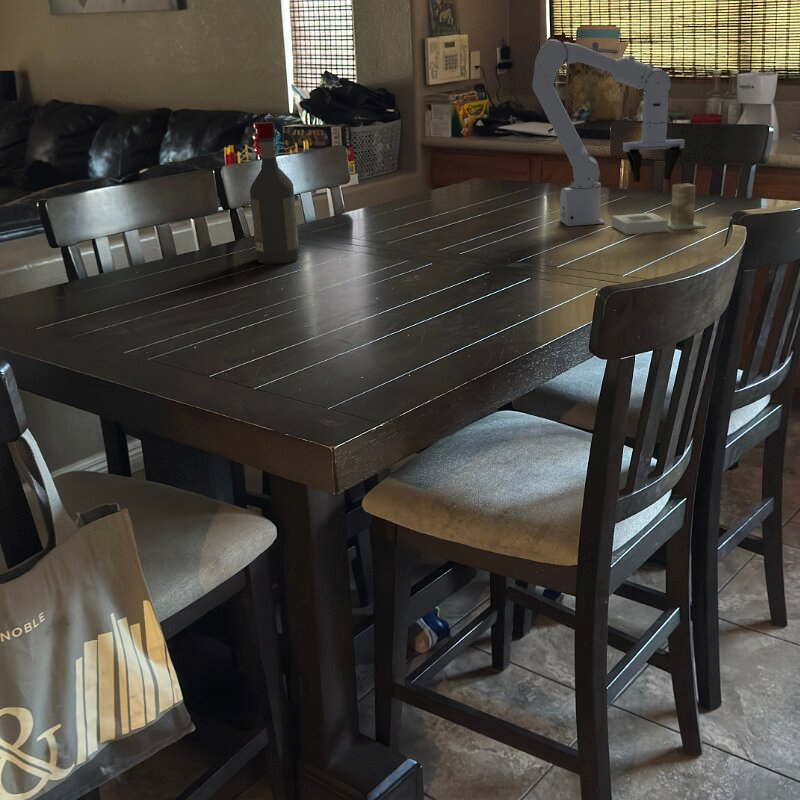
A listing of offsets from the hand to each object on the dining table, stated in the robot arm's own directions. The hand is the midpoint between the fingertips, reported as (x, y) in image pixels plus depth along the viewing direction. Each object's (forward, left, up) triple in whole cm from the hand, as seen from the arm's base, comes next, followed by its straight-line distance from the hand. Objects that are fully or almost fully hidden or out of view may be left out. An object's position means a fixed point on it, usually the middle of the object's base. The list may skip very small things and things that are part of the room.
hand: (651, 180), depth 239 cm
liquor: (-91, -10, -10) cm, 92 cm away
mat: (+5, -8, -10) cm, 13 cm away
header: (-6, -8, -10) cm, 14 cm away
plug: (+5, -8, -9) cm, 13 cm away
